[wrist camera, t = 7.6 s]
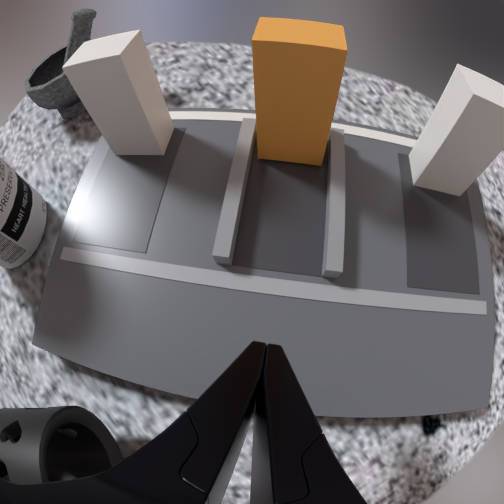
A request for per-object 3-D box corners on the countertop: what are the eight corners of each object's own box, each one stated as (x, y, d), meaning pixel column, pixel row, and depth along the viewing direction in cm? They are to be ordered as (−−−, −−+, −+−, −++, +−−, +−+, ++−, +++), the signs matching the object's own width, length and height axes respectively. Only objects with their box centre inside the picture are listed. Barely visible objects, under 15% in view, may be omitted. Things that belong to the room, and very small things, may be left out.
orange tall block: (321, 165, 21) (347, 50, 11) (257, 158, 21) (251, 40, 12) (322, 135, 22) (343, 25, 12) (263, 129, 22) (259, 17, 13)
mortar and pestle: (46, 141, 28) (-5, 74, 16) (50, 100, 31) (12, 41, 20) (128, 97, 29) (91, 13, 18) (120, 63, 32) (93, -6, 21)
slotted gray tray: (469, 405, 17) (588, 411, 5) (50, 347, 20) (-71, 319, 8) (458, 167, 24) (520, 80, 12) (123, 127, 27) (74, 32, 15)
